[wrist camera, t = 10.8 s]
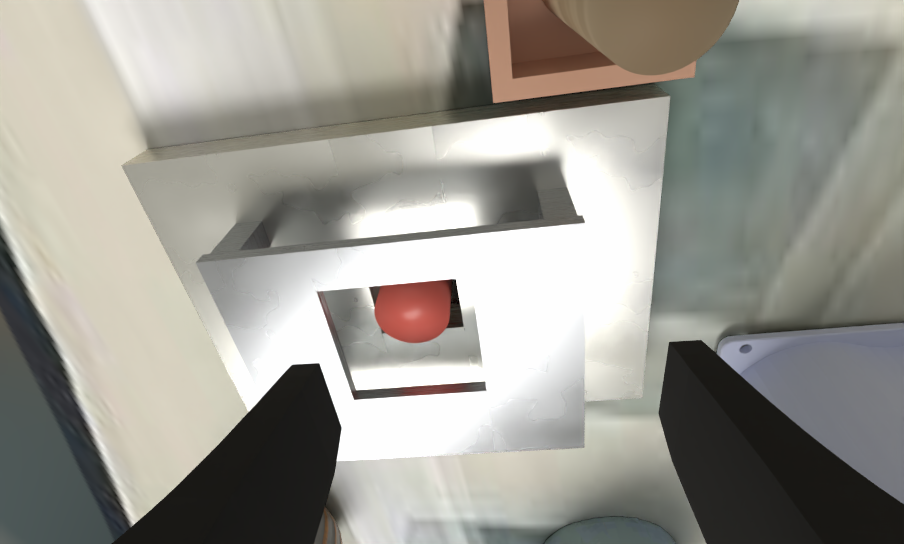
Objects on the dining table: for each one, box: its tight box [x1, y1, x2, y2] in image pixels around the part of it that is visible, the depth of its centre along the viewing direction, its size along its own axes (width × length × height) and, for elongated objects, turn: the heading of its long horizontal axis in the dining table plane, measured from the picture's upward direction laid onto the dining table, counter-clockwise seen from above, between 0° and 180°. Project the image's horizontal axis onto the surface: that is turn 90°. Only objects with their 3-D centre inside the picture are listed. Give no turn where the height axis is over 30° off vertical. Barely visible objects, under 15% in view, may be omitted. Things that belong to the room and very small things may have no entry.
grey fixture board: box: [121, 84, 670, 461], centre depth 19 cm, size 18×13×4 cm
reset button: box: [374, 279, 452, 343], centre depth 20 cm, size 3×3×2 cm
